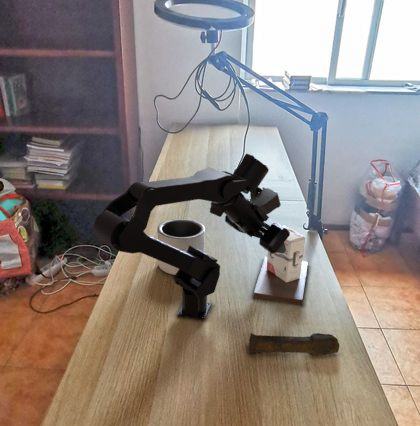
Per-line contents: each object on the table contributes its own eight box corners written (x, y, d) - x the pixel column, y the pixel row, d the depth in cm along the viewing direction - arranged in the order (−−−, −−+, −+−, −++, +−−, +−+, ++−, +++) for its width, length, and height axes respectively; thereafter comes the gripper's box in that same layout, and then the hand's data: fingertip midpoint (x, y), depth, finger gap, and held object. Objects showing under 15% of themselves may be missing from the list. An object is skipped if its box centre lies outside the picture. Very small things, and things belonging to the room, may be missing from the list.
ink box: (264, 269, 130) (269, 227, 123) (279, 264, 132) (284, 223, 125) (285, 283, 124) (291, 241, 117) (300, 278, 126) (307, 236, 119)
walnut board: (301, 305, 119) (302, 299, 118) (253, 297, 121) (253, 292, 120) (307, 266, 135) (308, 261, 134) (264, 260, 137) (264, 255, 136)
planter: (180, 282, 125) (180, 243, 119) (148, 265, 132) (146, 227, 126) (213, 266, 133) (215, 228, 127) (182, 250, 140) (182, 214, 134)
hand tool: (248, 356, 102) (250, 339, 99) (248, 344, 105) (250, 327, 102) (339, 362, 101) (343, 344, 99) (336, 350, 105) (340, 332, 102)
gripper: (288, 194, 102) (319, 232, 113) (238, 168, 115) (270, 205, 126) (254, 236, 103) (288, 270, 114) (208, 206, 116) (243, 239, 127)
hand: (272, 243), depth 120 cm, fingers open, 9 cm apart
